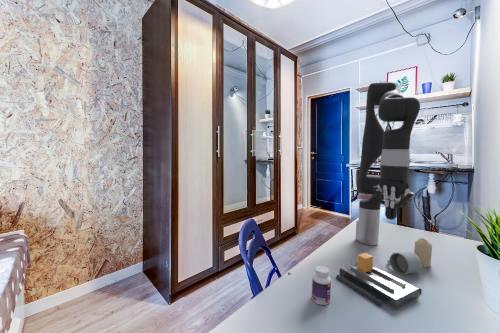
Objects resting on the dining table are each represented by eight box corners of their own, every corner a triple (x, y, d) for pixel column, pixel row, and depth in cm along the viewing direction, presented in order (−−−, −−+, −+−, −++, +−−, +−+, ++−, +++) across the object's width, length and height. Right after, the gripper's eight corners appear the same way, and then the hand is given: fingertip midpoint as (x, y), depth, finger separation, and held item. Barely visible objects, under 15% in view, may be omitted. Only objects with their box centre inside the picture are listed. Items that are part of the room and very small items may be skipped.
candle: (433, 267, 90) (435, 243, 89) (417, 266, 91) (419, 241, 90) (425, 261, 95) (427, 237, 94) (410, 259, 96) (412, 236, 95)
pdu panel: (339, 275, 84) (339, 264, 83) (361, 267, 89) (361, 257, 89) (395, 309, 66) (396, 296, 66) (418, 297, 72) (419, 285, 71)
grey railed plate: (335, 278, 82) (336, 275, 82) (370, 266, 90) (370, 263, 90) (386, 310, 66) (386, 306, 66) (421, 292, 75) (421, 288, 74)
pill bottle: (330, 307, 67) (332, 275, 66) (311, 303, 68) (312, 272, 68) (329, 295, 72) (330, 265, 71) (311, 292, 74) (312, 263, 73)
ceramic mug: (423, 275, 85) (424, 254, 84) (407, 279, 82) (409, 258, 81) (396, 262, 95) (397, 243, 94) (381, 265, 92) (382, 246, 91)
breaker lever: (357, 268, 82) (357, 254, 81) (364, 266, 84) (365, 252, 83) (364, 272, 79) (365, 258, 79) (372, 269, 81) (373, 256, 80)
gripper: (366, 162, 75) (363, 214, 77) (410, 166, 63) (406, 227, 65) (381, 162, 79) (378, 212, 80) (425, 165, 67) (420, 223, 69)
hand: (390, 218), depth 73 cm, fingers closed
